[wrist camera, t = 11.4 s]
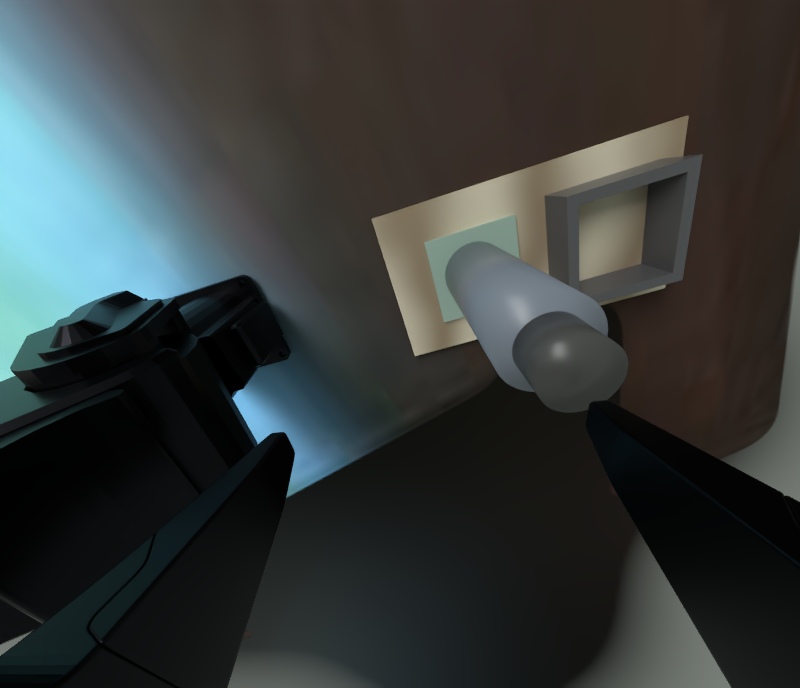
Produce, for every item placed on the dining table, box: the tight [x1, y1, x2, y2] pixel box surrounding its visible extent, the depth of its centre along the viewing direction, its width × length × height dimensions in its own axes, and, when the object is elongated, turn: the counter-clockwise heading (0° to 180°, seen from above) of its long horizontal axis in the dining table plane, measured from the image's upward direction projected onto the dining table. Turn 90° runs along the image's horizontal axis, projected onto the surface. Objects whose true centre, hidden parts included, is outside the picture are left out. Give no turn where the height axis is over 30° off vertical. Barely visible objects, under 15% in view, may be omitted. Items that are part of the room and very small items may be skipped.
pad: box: [424, 214, 520, 323], centre depth 19 cm, size 6×6×1 cm
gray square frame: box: [544, 154, 703, 303], centre depth 18 cm, size 7×7×2 cm
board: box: [372, 116, 689, 356], centre depth 19 cm, size 18×10×1 cm, turn 107°
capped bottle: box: [445, 241, 628, 413], centre depth 14 cm, size 4×4×12 cm
